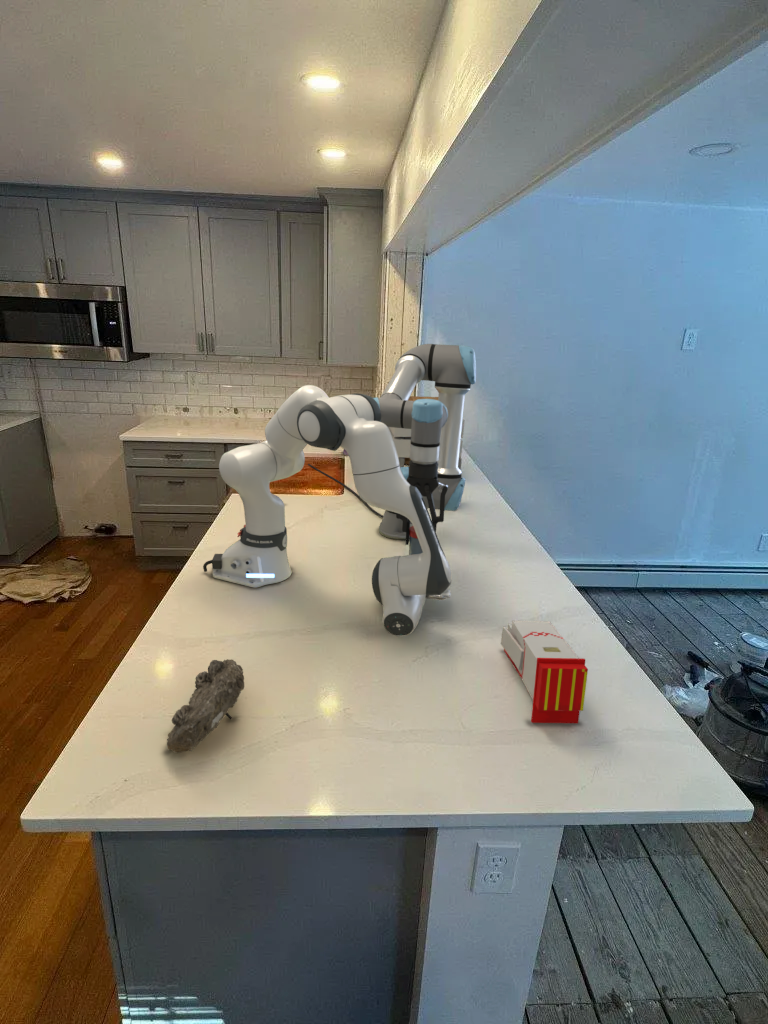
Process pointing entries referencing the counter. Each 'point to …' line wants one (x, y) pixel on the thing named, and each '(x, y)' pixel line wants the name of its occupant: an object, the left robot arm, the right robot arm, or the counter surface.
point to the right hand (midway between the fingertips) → (418, 543)
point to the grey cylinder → (414, 546)
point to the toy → (547, 670)
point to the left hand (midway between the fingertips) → (416, 571)
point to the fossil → (206, 705)
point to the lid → (412, 532)
